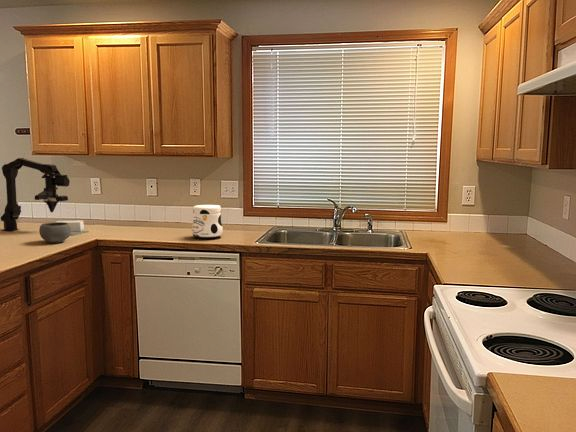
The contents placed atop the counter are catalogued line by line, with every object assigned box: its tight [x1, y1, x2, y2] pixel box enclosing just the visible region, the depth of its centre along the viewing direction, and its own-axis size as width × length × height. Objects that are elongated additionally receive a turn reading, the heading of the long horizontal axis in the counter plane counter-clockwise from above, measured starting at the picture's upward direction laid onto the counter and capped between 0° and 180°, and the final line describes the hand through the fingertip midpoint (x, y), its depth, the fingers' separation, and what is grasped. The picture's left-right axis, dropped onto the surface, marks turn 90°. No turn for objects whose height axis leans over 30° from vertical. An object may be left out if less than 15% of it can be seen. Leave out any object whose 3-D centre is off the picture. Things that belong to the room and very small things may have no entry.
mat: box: [69, 230, 89, 236], centre depth 291 cm, size 16×14×1 cm
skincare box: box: [56, 219, 85, 232], centre depth 295 cm, size 8×6×15 cm
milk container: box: [191, 204, 224, 239], centre depth 281 cm, size 17×17×18 cm
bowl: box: [38, 221, 71, 244], centre depth 262 cm, size 15×15×10 cm
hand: (51, 212), depth 292 cm, fingers closed
